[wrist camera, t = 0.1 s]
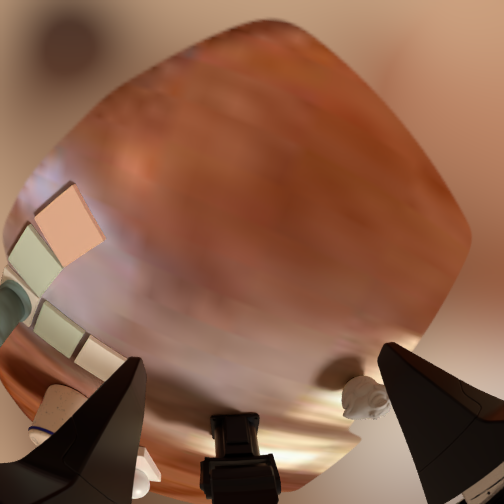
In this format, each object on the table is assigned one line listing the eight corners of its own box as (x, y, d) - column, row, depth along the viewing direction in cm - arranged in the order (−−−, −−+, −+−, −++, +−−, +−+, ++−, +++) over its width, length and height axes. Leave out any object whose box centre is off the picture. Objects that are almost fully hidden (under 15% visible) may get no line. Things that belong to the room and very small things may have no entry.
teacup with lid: (37, 377, 27) (9, 437, 16) (87, 387, 28) (64, 458, 17) (68, 423, 32) (52, 476, 21) (114, 432, 33) (103, 492, 22)
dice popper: (161, 474, 40) (159, 506, 33) (116, 467, 39) (112, 498, 31) (145, 447, 35) (140, 487, 27) (92, 438, 33) (84, 475, 26)
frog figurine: (382, 375, 33) (403, 411, 27) (340, 400, 34) (356, 438, 27) (373, 354, 31) (397, 393, 24) (325, 383, 32) (342, 425, 25)
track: (139, 385, 28) (139, 389, 28) (31, 366, 26) (29, 369, 26) (101, 181, 19) (98, 182, 19) (-23, 197, 17) (-27, 199, 17)
